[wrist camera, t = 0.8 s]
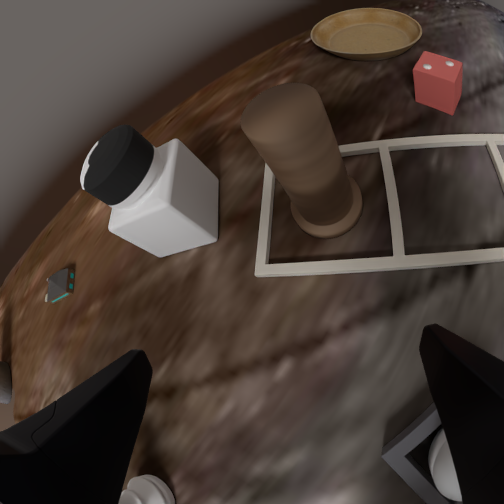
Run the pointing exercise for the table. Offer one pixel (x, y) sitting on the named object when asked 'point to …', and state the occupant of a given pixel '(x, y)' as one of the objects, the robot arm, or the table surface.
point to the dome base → (406, 465)
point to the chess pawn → (147, 491)
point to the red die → (438, 82)
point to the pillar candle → (5, 383)
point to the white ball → (443, 467)
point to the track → (399, 258)
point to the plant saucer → (367, 34)
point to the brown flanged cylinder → (304, 158)
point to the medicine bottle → (153, 192)
